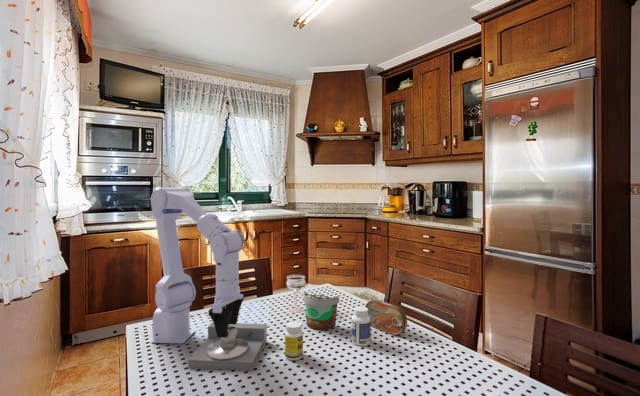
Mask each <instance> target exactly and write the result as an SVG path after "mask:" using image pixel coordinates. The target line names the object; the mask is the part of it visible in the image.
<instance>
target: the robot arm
mask: <svg viewBox="0 0 640 396" xmlns="http://www.w3.org/2000/svg"><path fill="white" fill-rule="evenodd" d="M194 194H195V193H194V192H193V191H191V190H190V188H188V187H187V186H186V187H159V186H158V187H156V188H155V189H154V190H153V191H152V194H151V196H150V197H149V199H150V206H151V213H152V217H153V218H154V219H155V223H156V225H155V226H156V230H157V231H156V232H157V238H158V246H159V253H160V258H161V266H162V272H163V276H162V278H161V279H159V281H158V282H157V283H156V284H155V297H154V301H155V305H156V307H157V308H156V309H155V311H154V312H153V314H152V315H153V316H152V339H151V341H150V342H151V343H152V344H153V343H154V344H155V343H156V344H158V343H159V344H180V345H182V344H185V342H186V341H187V340H188V339H190V337H191V336H193V334H194V333H196V329H190V306H192V302H193V301H195V298H196V293H197V292H196V287H195V285H194V283H193V280H192V277H191V276H190V275H189V274H188V273H185V272H184V269H183V262H182V261H183V260H182V256H181V249H180V243H179V242H180V241H179V236H178V230H177V229H178V228H177V223H176V220H177V219H178V217H180V216H181V215H183V214H184V213H185V214H186V215H187V216H188V217H189V218H190V219H192V220H193V221H194V222H195V223H197V224H196V229H197V231H199V232H200V234H201V235H202V236H203V237H204V238H205V239H206V240H207V241H208V242H209V245H210V251H211V252H212V255H213V261H214V262H215V295H214V303H213V304H212V307H210V309H208V316H209V317H210V319H211V320H212V323H214V325H215V329H216V333H217V336H218V337H223V338H225V337H226V336H227V333H228V325H229V324H236V323H238V319H239V315H240V309H241V307H242V304H243V301H244V300H245V295H244V294H243V293H241V287H240V286H239V285H240V276H239V275H240V272H239V271H240V269H239V267H240V265H239V264H240V263H239V262H240V260H239V259H240V257H239V255H240V252H241V251H242V249H243V248H244V240H245V239H244V238H243V235H242V233H241V232H240V231H239V230H236V229H232V228H229V227H228V226H227V225H225V224H224V223H223V221H221V220H220V219H219V218H218V217H219V216H218V215H217V214H216V213H215V214H213V213H207V212H206V211H205V210H204V208H202V206H201V205H200V204H199V203H198V202H197V201H196V199H195V195H194Z"/></svg>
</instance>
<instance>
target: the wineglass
mask: <svg viewBox="0 0 640 396" xmlns="http://www.w3.org/2000/svg"><path fill="white" fill-rule="evenodd" d="M305 278H306V276H305V275H303V274H290V275H287V276H286V279H287V280H286V287H287V288H288V289H289V290H290V292H293V293H294V304H295V306H294V307H290V308H289V310H288V311H289V312H290V313H293V314H294V313H295V314H296V313H302V312H303V310H304V309H303V308H301V307H297V306H298V305H297V303H298V302H297V301H298V299H297V298H298V293H299V292H300V291H302V290H303V289H304V288H305V286H306V280H305Z"/></svg>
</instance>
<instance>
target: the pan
mask: <svg viewBox="0 0 640 396" xmlns="http://www.w3.org/2000/svg"><path fill="white" fill-rule="evenodd" d="M247 351H248V342H247V341H245V340H244V339H240V338H237V347H236V348H235V349H233V350H229V351H225V350H222V349H221V339H220V340H217V341H215V342H213V343H211V344H210V345H209V346H208V347H207V356H208V357H209V358H211V359H214V360H231V359H235V358H238V357H240V356H242V355H244V354H245V353H246V352H247Z"/></svg>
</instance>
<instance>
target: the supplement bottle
mask: <svg viewBox="0 0 640 396" xmlns="http://www.w3.org/2000/svg"><path fill="white" fill-rule="evenodd" d="M302 326H303V325H302V323H301V322H299V321H290V322H287V323H286V326H285V329H286V331H285V333H284V356H285V357H284V358H285V359H287V360H289V361H298V360H300V359H301V358H303V355H304V333H303V330H302V329H303V327H302Z"/></svg>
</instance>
